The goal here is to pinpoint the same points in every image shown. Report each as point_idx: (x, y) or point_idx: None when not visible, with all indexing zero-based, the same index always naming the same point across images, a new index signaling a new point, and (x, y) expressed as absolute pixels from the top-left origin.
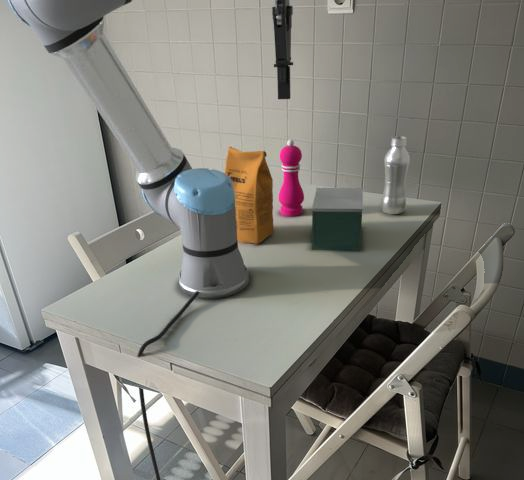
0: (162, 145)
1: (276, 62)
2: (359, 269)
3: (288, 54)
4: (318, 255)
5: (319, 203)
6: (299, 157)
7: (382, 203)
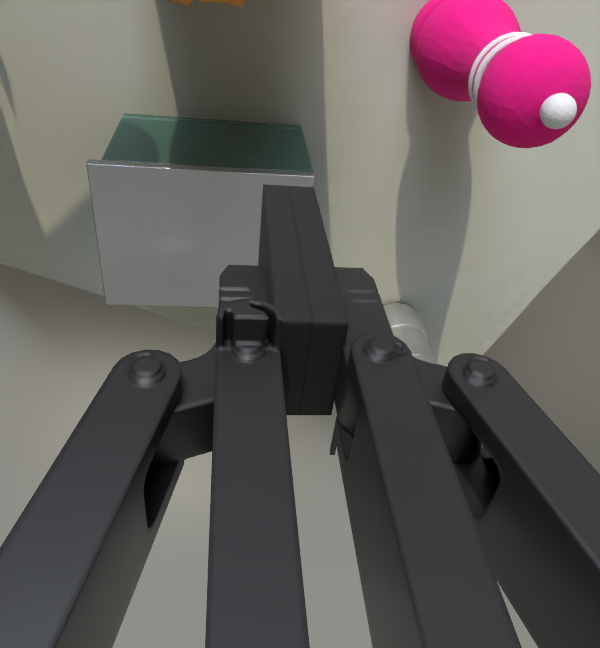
0: None
1: (115, 372)
2: (19, 233)
3: (345, 491)
4: (85, 132)
5: (139, 187)
6: (492, 135)
7: (390, 314)
